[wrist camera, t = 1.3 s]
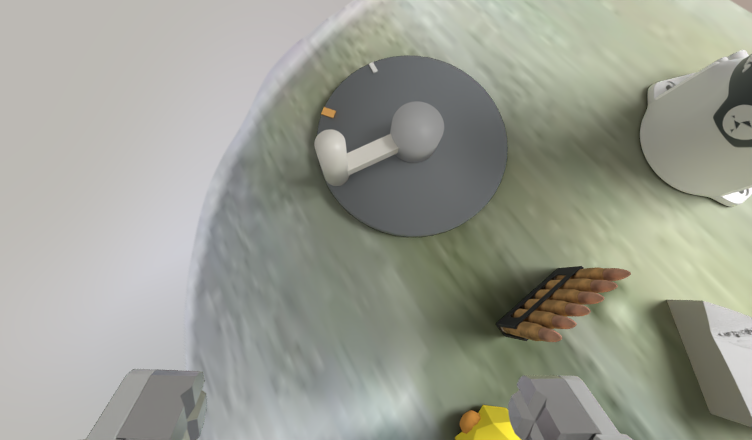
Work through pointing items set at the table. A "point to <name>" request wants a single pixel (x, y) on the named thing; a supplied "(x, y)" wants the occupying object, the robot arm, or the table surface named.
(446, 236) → the table surface
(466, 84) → the dial plate
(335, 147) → the dial lever
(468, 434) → the yellow faceted oblong piece
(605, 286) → the ammunition clip
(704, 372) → the ramp
